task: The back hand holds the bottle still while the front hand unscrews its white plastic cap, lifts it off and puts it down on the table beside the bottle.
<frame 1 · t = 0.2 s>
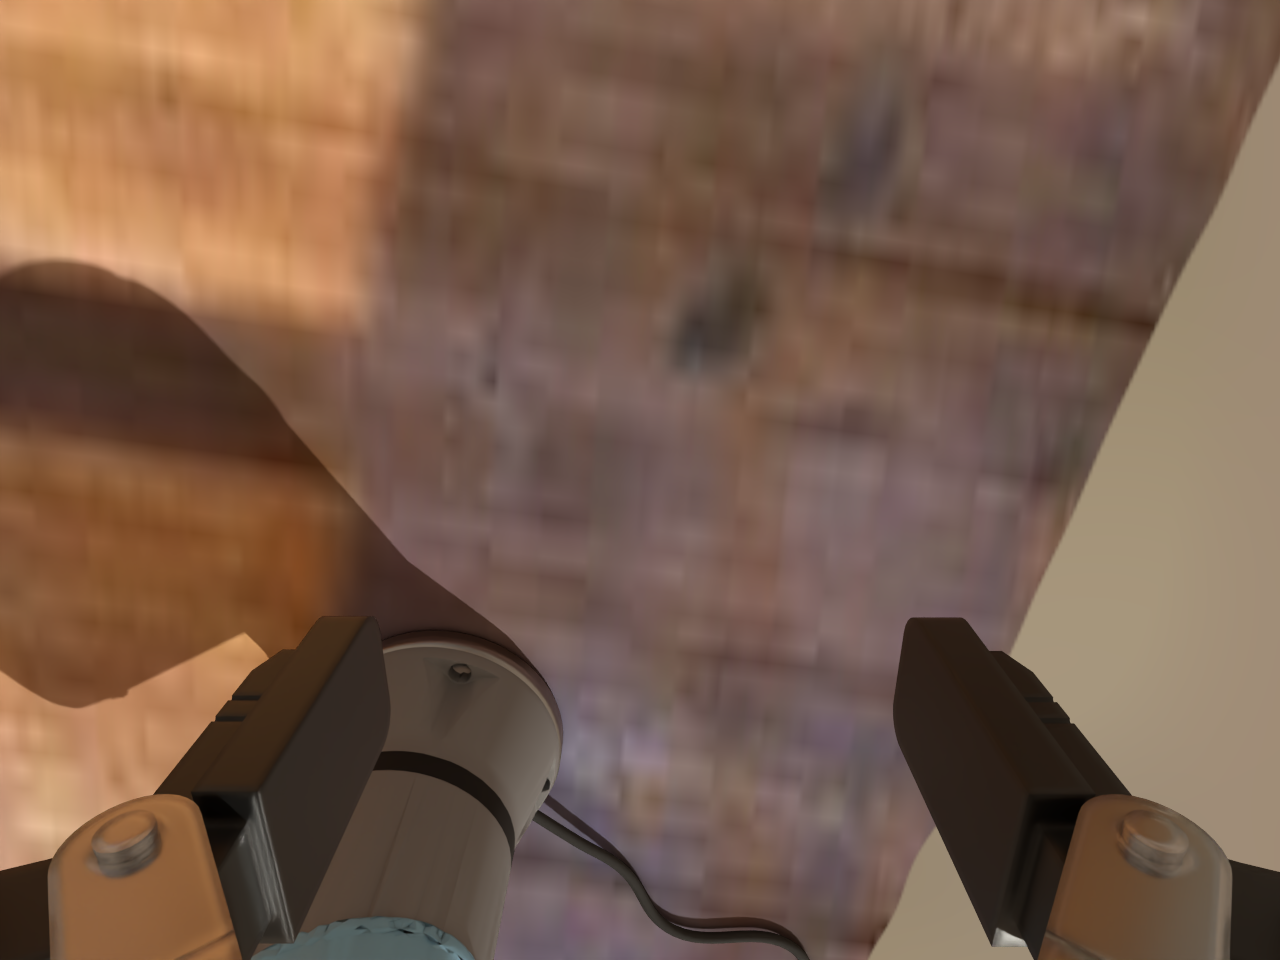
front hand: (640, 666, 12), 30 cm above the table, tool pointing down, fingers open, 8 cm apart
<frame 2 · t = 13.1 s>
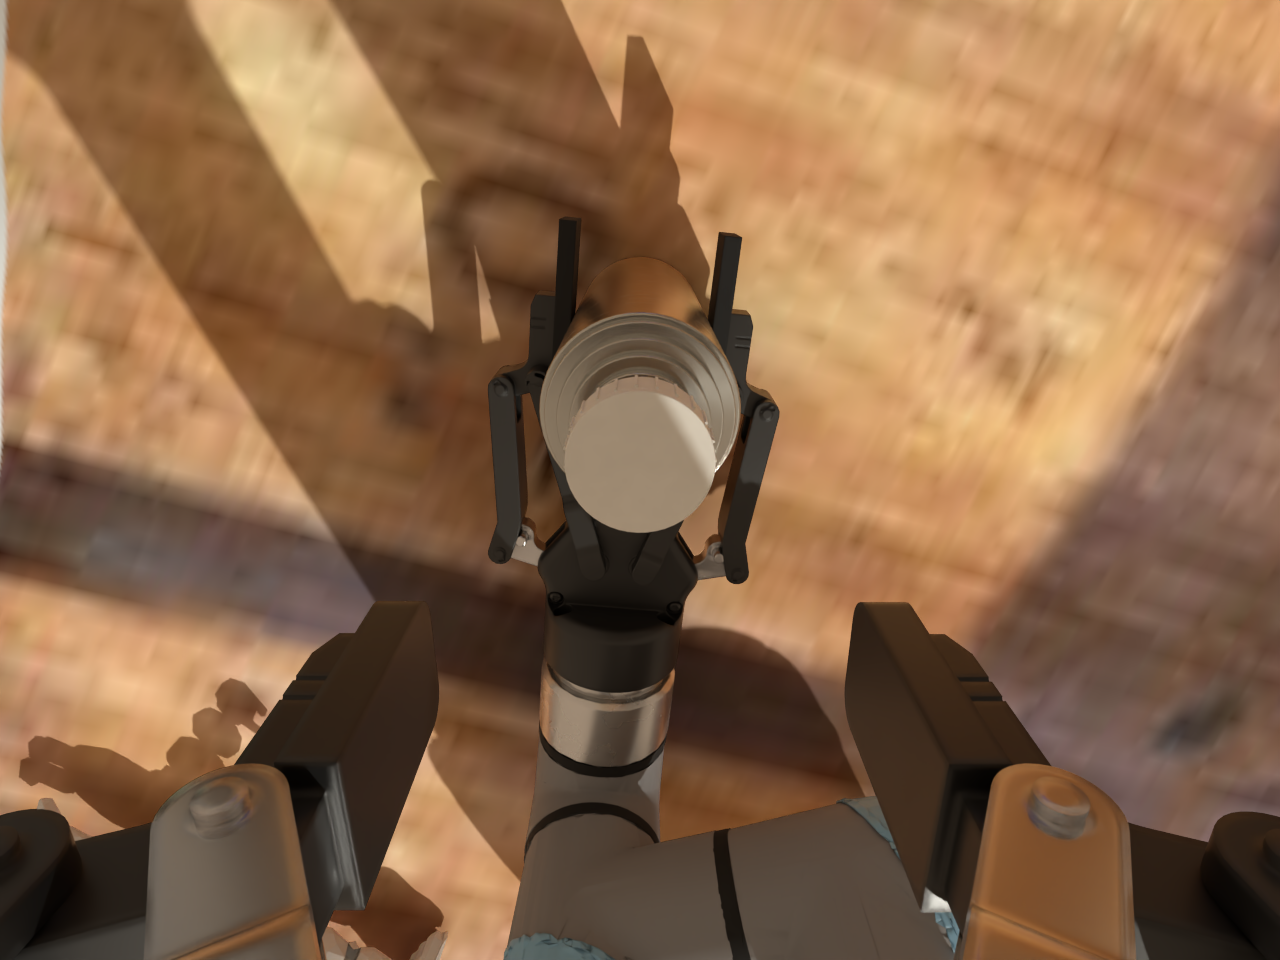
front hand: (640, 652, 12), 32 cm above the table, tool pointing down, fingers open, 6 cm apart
back hand: (650, 227, 34), fingers closed on bottle, 6 cm apart
bottle: (640, 317, 41), on the table, touching back hand
toy: (249, 878, 57), on the table
cap: (640, 460, 20), point 23 cm above the table, screwed on, not yet turned
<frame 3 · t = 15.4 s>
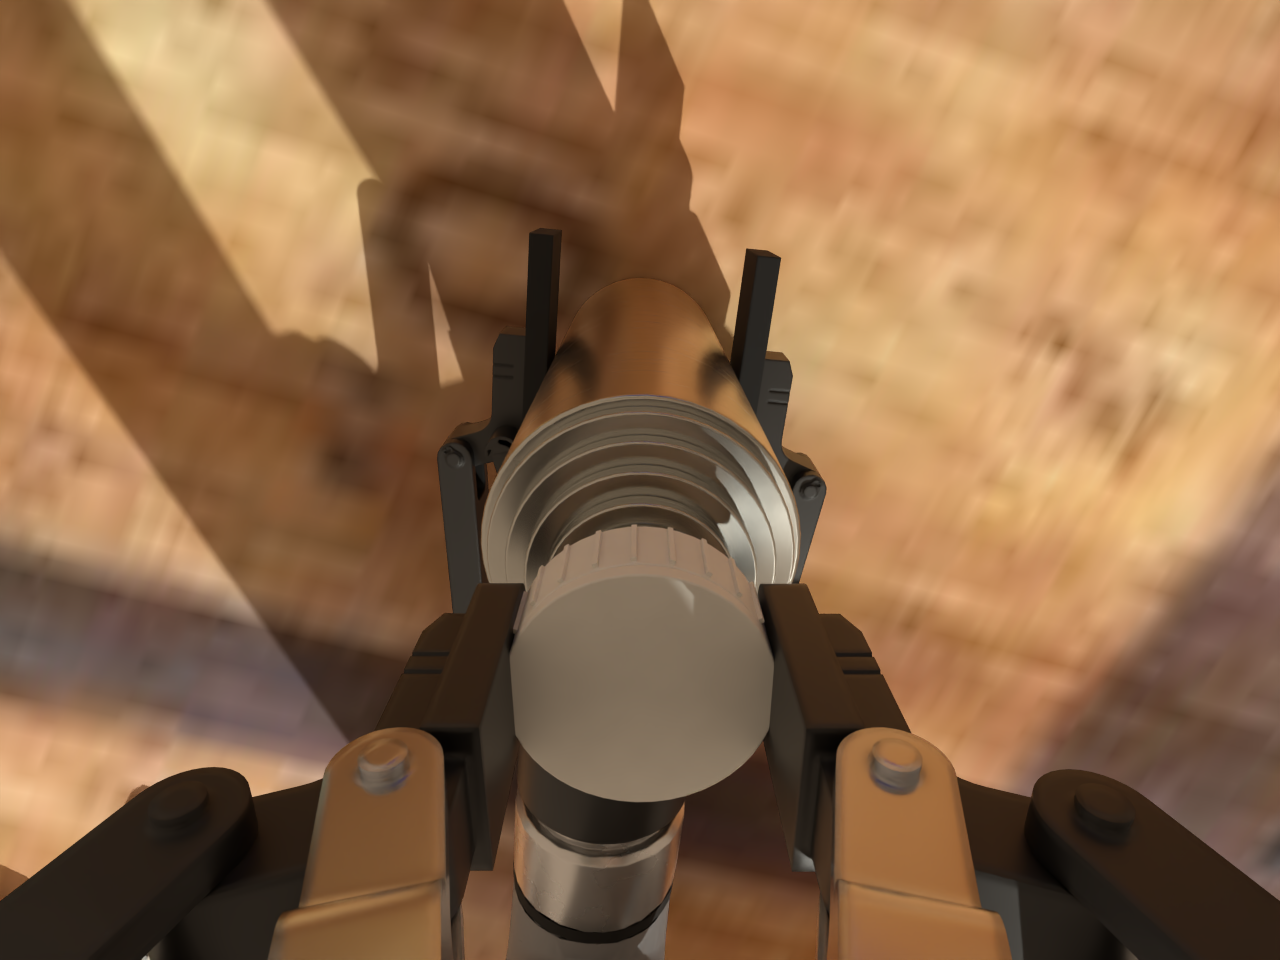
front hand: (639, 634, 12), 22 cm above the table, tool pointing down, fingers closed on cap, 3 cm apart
bottle: (640, 354, 32), on the table, touching back hand
cap: (640, 683, 11), point 23 cm above the table, screwed on, not yet turned, touching front hand
when the front hand's fingers open (2 cm above the table, at t = 38.3 s): cap drops 2 cm, point 1 cm above the table.
when the back hand's fingers open (6 cm above the table, at t = 39.4 s): bottle stays where it is, on the table.
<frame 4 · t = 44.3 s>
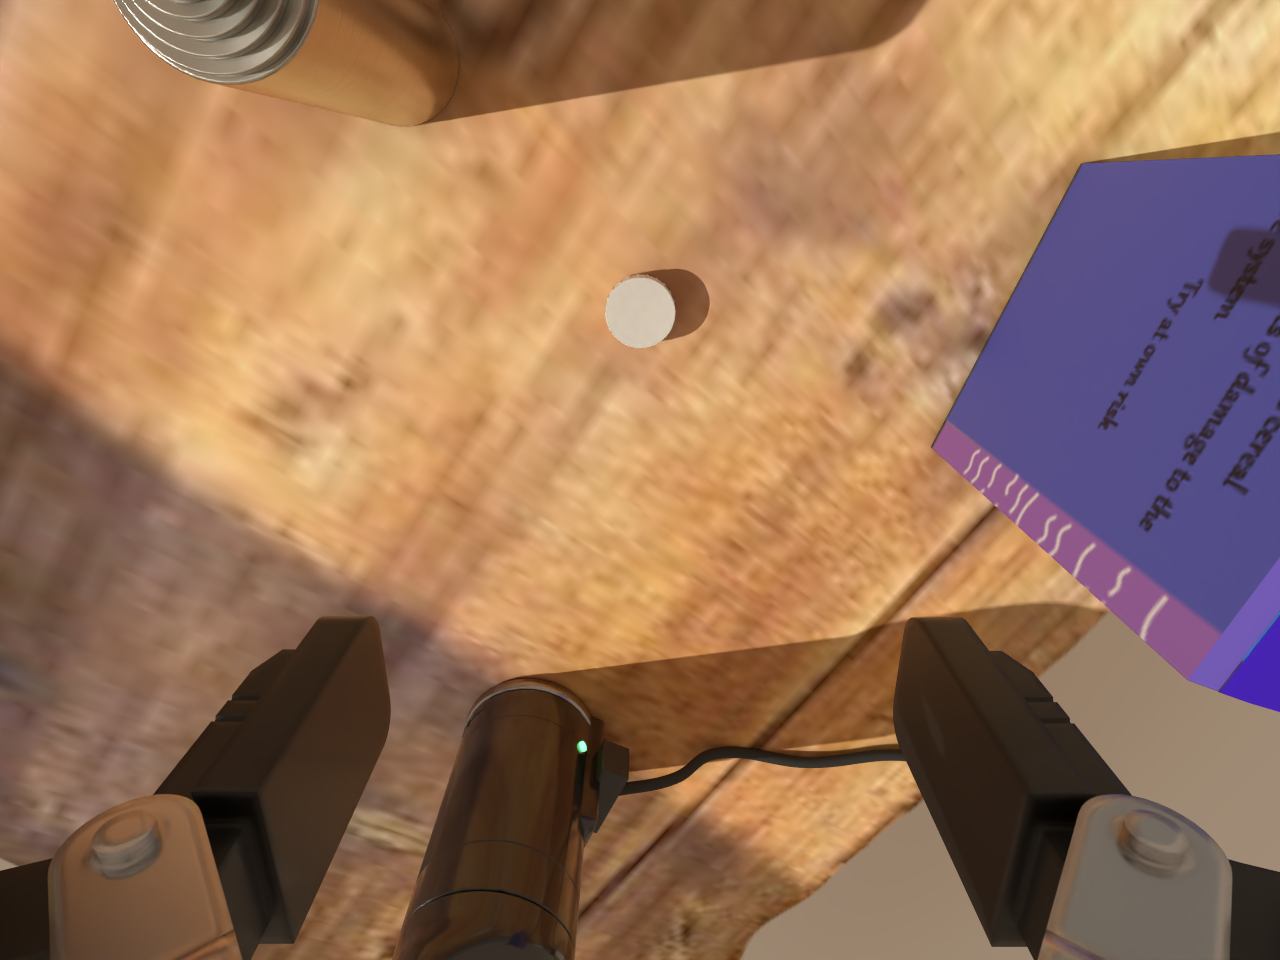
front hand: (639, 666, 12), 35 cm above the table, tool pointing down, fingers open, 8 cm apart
bottle: (397, 58, 40), on the table
cap: (640, 312, 43), point 1 cm above the table, off its thread
cereal box: (1034, 328, 45), on the table
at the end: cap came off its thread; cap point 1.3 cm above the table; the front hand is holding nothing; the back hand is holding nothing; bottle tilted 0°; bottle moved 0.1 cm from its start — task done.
